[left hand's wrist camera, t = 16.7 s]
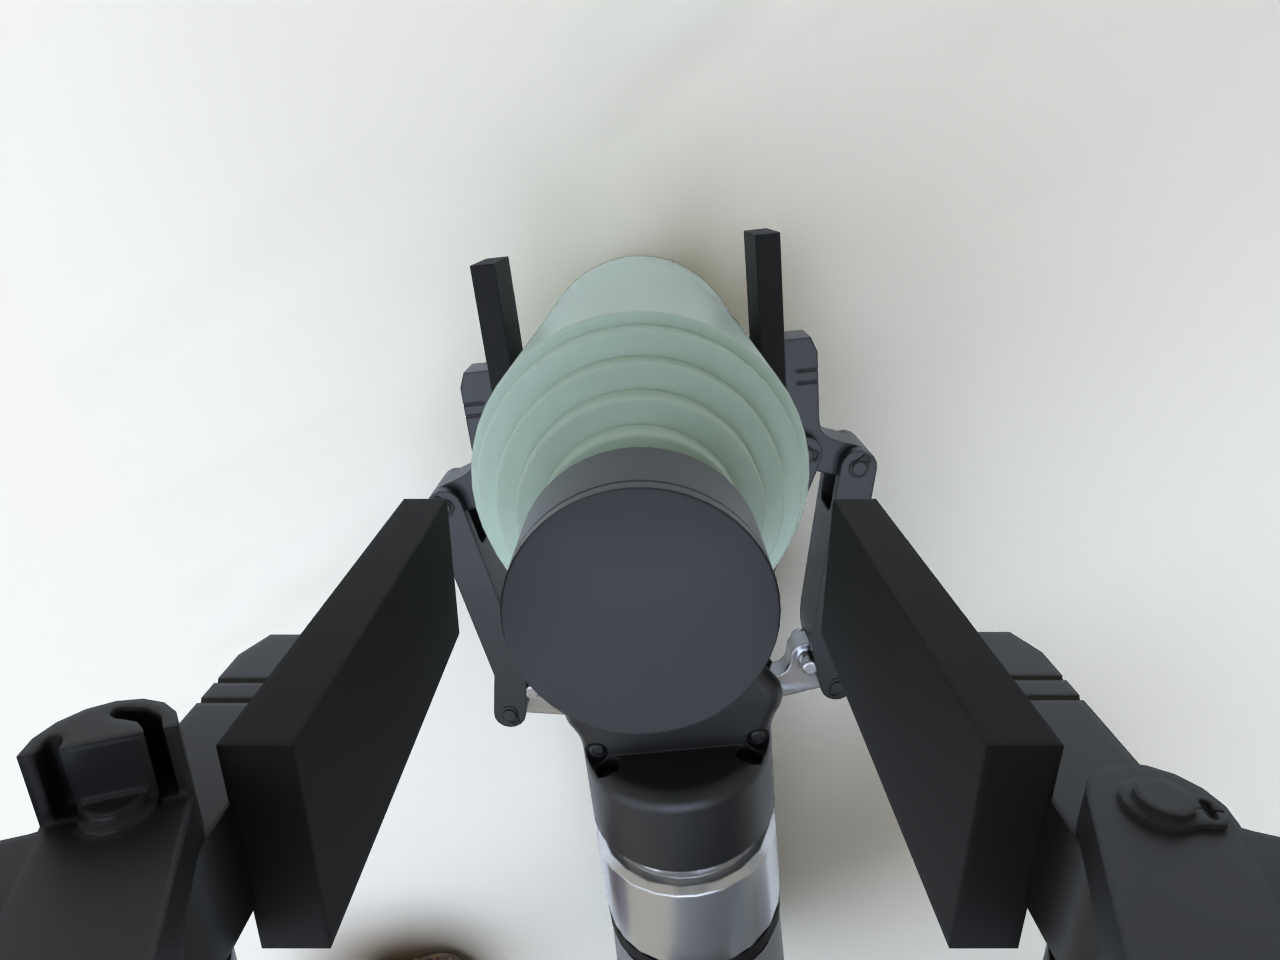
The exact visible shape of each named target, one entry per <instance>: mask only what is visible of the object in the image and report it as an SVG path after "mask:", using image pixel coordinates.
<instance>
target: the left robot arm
mask: <svg viewBox="0 0 1280 960" xmlns="http://www.w3.org/2000/svg"><path fill="white" fill-rule="evenodd" d="M458 635H459V625H458V614H457V603H456V592H455V581H454V570H453V559H452V548H451V537H450V527H449V516H448V505H447V499H404V500H403V501H402V502H401V504H400V505H399V506H398V508H397V509H396V510H395V512H394V513H393V514H392V516H391V517H390V518H389V520H388V521H387V522H386V523H385V525H384V526H383V527H382V529H381V530H380V531H379V533H378V534H377V535H376V537H375V538H374V539H373V540H372V542H371V543H370V544H369V546H368V547H367V548H366V550H365V551H364V552H363V554H362V555H361V556H360V557H359V559H358V560H357V561H356V563H355V564H354V565H353V567H352V568H351V569H350V571H349V572H348V573H347V574H346V576H345V577H344V578H343V580H342V581H341V582H340V584H339V585H338V586H337V588H336V589H335V590H334V591H333V593H332V594H331V595H330V597H329V598H328V599H327V601H326V602H325V603H324V605H323V606H322V607H321V608H320V610H319V611H318V612H317V614H316V615H315V616H314V618H313V619H312V620H311V622H310V623H309V624H308V625H307V627H306V628H305V629H304V631H303V632H302V633H301V635H269V636H268V637H266V638H265V639H263V640H261V641H260V642H258V643H257V644H255V645H254V646H252V647H250V648H249V649H247V650H246V651H244V652H242V653H241V654H239V655H238V656H237V657H236V659H235V660H234V661H233V662H232V663H231V664H230V665H229V667H228V668H227V669H226V670H225V671H224V672H223V674H222V675H221V676H220V677H219V678H218V683H214V684H213V685H212V686H211V687H210V689H209V690H208V691H207V692H206V693H205V694H204V696H203V697H202V698H201V703H197V704H196V705H195V706H194V707H193V708H192V709H191V711H190V712H189V713H188V714H187V715H186V716H185V718H184V719H183V720H182V721H181V722H180V723H179V721H178V717H177V713H176V711H175V710H173V709H172V708H171V707H169V706H168V705H167V704H166V703H164V702H159V701H153V700H147V699H135V700H123V701H115V702H111V703H107V704H104V705H100V706H96V707H92V708H89V709H85V710H83V711H81V712H79V713H76V714H74V715H72V716H70V717H67V718H65V719H63V720H61V721H58V722H56V723H55V724H53V725H52V726H50V727H49V728H48V729H46V730H45V731H43V732H42V733H40V734H39V735H37V736H36V737H34V738H33V739H32V740H31V741H30V742H29V743H28V744H27V745H26V746H25V748H24V749H23V750H22V751H21V752H20V753H19V755H18V756H17V760H18V763H19V766H20V769H21V772H22V775H23V778H24V781H25V784H26V787H27V790H28V793H29V796H30V799H31V802H32V804H33V807H34V810H35V813H36V816H37V819H38V822H39V825H40V828H39V830H38V832H35V833H32V834H28V835H24V836H19V837H15V838H10V839H6V840H1V841H0V960H237V958H236V954H235V950H234V945H235V944H236V942H237V940H238V938H239V936H240V934H241V932H242V931H243V929H244V927H245V925H246V923H247V921H248V919H249V918H250V916H251V914H252V912H253V911H254V915H255V920H256V924H257V928H258V933H259V937H260V941H261V946H262V948H331V946H332V944H333V941H334V939H335V936H336V934H337V932H338V929H339V927H340V924H341V922H342V919H343V917H344V914H345V912H346V910H347V907H348V905H349V902H350V900H351V897H352V895H353V892H354V890H355V887H356V885H357V883H358V880H359V878H360V875H361V873H362V870H363V868H364V865H365V863H366V861H367V858H368V856H369V853H370V851H371V848H372V846H373V843H374V841H375V838H376V836H377V834H378V831H379V829H380V826H381V824H382V821H383V819H384V816H385V814H386V812H387V809H388V807H389V804H390V802H391V799H392V797H393V794H394V792H395V789H396V787H397V785H398V782H399V780H400V777H401V775H402V772H403V770H404V767H405V765H406V763H407V760H408V758H409V755H410V753H411V750H412V748H413V745H414V743H415V740H416V738H417V736H418V733H419V731H420V728H421V726H422V723H423V721H424V718H425V716H426V714H427V711H428V709H429V706H430V704H431V701H432V699H433V696H434V694H435V691H436V689H437V687H438V684H439V682H440V679H441V677H442V674H443V672H444V669H445V667H446V665H447V662H448V660H449V657H450V655H451V652H452V650H453V647H454V645H455V642H456V640H457V638H458ZM821 635H822V638H823V640H824V642H825V645H826V647H827V650H828V652H829V655H830V657H831V660H832V662H833V665H834V667H835V669H836V672H837V674H838V677H839V679H840V682H841V684H842V687H843V689H844V691H845V694H846V696H847V699H848V701H849V704H850V706H851V709H852V711H853V714H854V716H855V718H856V721H857V723H858V726H859V728H860V731H861V733H862V736H863V738H864V740H865V743H866V745H867V748H868V750H869V753H870V755H871V758H872V760H873V763H874V765H875V767H876V770H877V772H878V775H879V777H880V780H881V782H882V785H883V787H884V789H885V792H886V794H887V797H888V799H889V802H890V804H891V807H892V809H893V812H894V814H895V816H896V819H897V821H898V824H899V826H900V829H901V831H902V834H903V836H904V838H905V841H906V843H907V846H908V848H909V851H910V853H911V856H912V858H913V861H914V863H915V865H916V868H917V870H918V873H919V875H920V878H921V880H922V883H923V885H924V887H925V890H926V892H927V895H928V897H929V900H930V902H931V905H932V907H933V910H934V912H935V914H936V917H937V919H938V922H939V924H940V927H941V929H942V932H943V934H944V936H945V939H946V941H947V944H948V946H949V948H1018V946H1019V941H1020V937H1021V933H1022V928H1023V924H1024V920H1025V915H1026V911H1027V908H1028V910H1029V912H1030V913H1031V915H1032V917H1033V919H1034V921H1035V923H1036V925H1037V926H1038V928H1039V930H1040V932H1041V934H1042V936H1043V938H1044V939H1045V941H1046V943H1047V945H1046V950H1045V954H1044V958H1043V960H1280V837H1277V836H1272V835H1268V834H1263V833H1259V832H1254V831H1250V830H1247V829H1243V828H1241V826H1240V825H1239V823H1238V822H1237V821H1236V819H1235V818H1234V817H1233V815H1232V814H1231V813H1230V811H1229V810H1228V809H1227V807H1226V806H1225V805H1223V804H1222V803H1221V802H1220V801H1218V800H1217V799H1216V798H1214V797H1213V796H1212V795H1211V794H1209V793H1208V792H1207V791H1205V790H1204V789H1203V788H1201V787H1199V786H1197V785H1195V784H1193V783H1191V782H1189V781H1187V780H1185V779H1183V778H1181V777H1179V776H1177V775H1175V774H1173V773H1169V772H1166V771H1163V770H1159V769H1156V768H1153V767H1150V766H1146V765H1140V764H1139V763H1138V762H1137V761H1136V760H1135V759H1134V758H1133V756H1132V755H1131V754H1130V753H1129V752H1128V751H1127V749H1126V748H1125V747H1124V746H1123V745H1122V744H1121V743H1120V741H1119V740H1118V739H1117V738H1116V737H1115V736H1114V735H1113V733H1112V732H1111V731H1110V730H1109V729H1108V728H1107V727H1106V725H1105V724H1104V723H1103V722H1102V721H1101V720H1100V718H1099V717H1098V716H1097V715H1096V714H1095V713H1094V712H1093V710H1092V709H1091V708H1090V707H1089V706H1088V705H1087V704H1086V702H1085V701H1084V700H1080V698H1079V694H1078V693H1077V692H1076V691H1075V690H1074V689H1073V687H1072V686H1071V685H1070V684H1069V683H1068V682H1067V681H1066V680H1063V679H1062V675H1061V674H1060V673H1059V671H1058V670H1057V669H1056V668H1055V667H1054V666H1053V664H1052V663H1051V662H1050V661H1049V660H1048V659H1047V658H1046V656H1045V655H1044V654H1043V653H1042V652H1041V651H1039V650H1037V649H1036V648H1034V647H1033V646H1031V645H1030V644H1028V643H1026V642H1025V641H1023V640H1022V639H1020V638H1018V637H1017V636H1015V635H1014V634H1012V633H1010V632H977V631H976V629H975V628H974V627H973V625H972V624H971V623H970V622H969V620H968V619H967V618H966V616H965V615H964V614H963V612H962V611H961V610H960V608H959V607H958V606H957V605H956V603H955V602H954V601H953V599H952V598H951V597H950V595H949V594H948V593H947V591H946V590H945V589H944V588H943V586H942V585H941V584H940V582H939V581H938V580H937V578H936V577H935V576H934V574H933V573H932V572H931V571H930V569H929V568H928V567H927V565H926V564H925V563H924V561H923V560H922V559H921V557H920V556H919V555H918V554H917V552H916V551H915V550H914V548H913V547H912V546H911V544H910V543H909V542H908V540H907V539H906V538H905V537H904V535H903V534H902V533H901V531H900V530H899V529H898V527H897V526H896V525H895V523H894V522H893V521H892V520H891V518H890V517H889V516H888V514H887V513H886V512H885V510H884V509H883V508H882V506H881V505H880V504H879V502H878V501H877V500H876V499H833V505H832V516H831V527H830V537H829V548H828V559H827V570H826V581H825V592H824V603H823V614H822V625H821Z"/></svg>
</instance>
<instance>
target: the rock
mask: <svg viewBox="0 0 1280 960" xmlns="http://www.w3.org/2000/svg"><path fill="white" fill-rule="evenodd" d="M413 960H461V959H460V958H459V957H458V956H455V955H452V954H449V953H436V954H430V955H426V956H424V957H421V958H415V959H413Z"/></svg>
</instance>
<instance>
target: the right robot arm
mask: <svg viewBox="0 0 1280 960" xmlns="http://www.w3.org/2000/svg"><path fill="white" fill-rule="evenodd" d="M744 242H745V260H746V278H747V296H748V314H749V332H750V340H751V341H752V343H753V344H754V345H755V347H756V348H757V349H758V351H759V352H760V354H761V355H762V356H763V358H764V359H765V360H766V362H767V363H768V364H769V366H770V367H771V368H772V370H773V371H774V372H775V374H776V375H777V377H778V378H779V380H780V381H781V383H782V384H783V385H784V387H785V388H786V390H787V391H788V393H789V395H790V397H791V399H792V401H793V403H794V405H795V407H796V409H797V411H798V413H799V416H800V419H801V423H802V426H803V429H804V432H805V436H806V442H807V448H808V453H809V482H808V490H809V488H810V485H811V483H812V481H813V478H814V476H815V474H816V471H819V472H821V476H820V482H819V488H818V495H817V501H816V507H815V514H814V520H813V526H812V533H811V539H810V545H809V552H808V558H807V564H806V570H805V577H804V583H803V589H802V596H801V604H800V620H801V626H802V629H795V630H794V631H793V632H792V633H791V636H790V638H789V639H788V641H787V647H786V652H785V655H784V656H783V657H782V658H781V659H780V660H778V661H776V662H772V661H771V660H770V659H769V660H768V662H767V664H766V665H765V667H764V669H763V671H762V672H761V674H760V675H759V676H758V678H757V679H756V680H755V682H754V683H753V684H752V686H751V687H750V688H749V689H748V690H747V691H746V692H745V693H744V694H743V695H742V696H741V697H740V698H738V699H737V700H736V701H735V702H733V703H732V704H731V705H730V706H728V707H727V708H725V709H724V710H722V711H720V712H719V713H717V714H715V715H714V716H712V717H710V718H708V719H705V720H703V721H701V722H699V723H696V724H693V725H690V726H687V727H684V728H681V729H676V730H672V731H667V732H659V733H649V734H631V733H622V732H613V731H609V730H605V729H600V728H596V727H593V726H591V725H588V724H585V723H582V722H580V721H577V720H575V719H573V718H571V717H569V716H567V715H565V716H566V718H567V720H568V722H569V723H570V725H571V726H572V727H573V728H574V729H575V730H576V731H577V733H578V734H579V736H580V738H581V740H582V742H583V747H584V753H585V759H586V765H587V771H588V778H589V784H590V790H591V797H592V803H593V809H594V815H595V821H596V824H597V827H598V835H597V836H598V842H599V848H600V854H601V860H602V866H603V871H604V877H605V883H606V889H607V895H608V900H609V908H610V913H611V918H612V923H613V926H614V935H615V943H616V952H617V960H784V956H783V945H782V935H781V924H780V914H779V888H780V880H779V865H778V849H777V834H776V820H775V812H774V800H775V797H774V779H773V761H772V744H771V722H772V718H773V716H774V714H775V712H776V710H777V709H778V707H779V705H780V703H781V700H782V696H785V695H790V694H794V693H798V692H802V691H806V690H811V689H815V688H819V687H820V688H821V690H822V692H823V694H824V695H825V696H827V697H828V698H831V699H841V698H843V697H845V696H846V694H845V691H844V689H843V687H842V684H841V682H840V679H839V677H838V674H837V672H836V669H835V667H834V665H833V662H832V660H831V657H830V655H829V652H828V650H827V647H826V645H825V642H824V640H823V638H822V635H821V625H822V614H823V603H824V592H825V581H826V570H827V559H828V548H829V537H830V527H831V516H832V505H833V499H871V497H872V492H873V486H874V481H875V475H876V470H877V462H876V460H875V458H874V456H873V455H872V454H871V453H870V452H869V450H868V449H867V448H866V447H865V446H864V445H863V444H862V443H861V441H860V440H859V439H858V438H857V437H856V436H855V435H854V434H853V433H852V432H850V431H846V430H840V431H835V430H831V429H827V428H824V427H821V426H820V423H819V398H818V370H817V368H818V358H817V350H816V348H815V346H814V343H813V341H812V339H811V337H810V336H809V335H808V334H806V333H805V332H804V331H803V330H797V331H787V332H784V321H783V296H782V271H781V245H780V232H777V231H774V230H770V229H767V228H765V229H756V230H747V231H744ZM470 269H471V275H472V281H473V286H474V292H475V298H476V304H477V309H478V315H479V321H480V327H481V332H482V338H483V344H484V350H485V355H486V361H487V363H477V364H472V365H471V366H470V367H469V368H468V369H467V370H466V371H465V372H464V374H463V379H462V383H461V394H462V399H463V404H464V410H465V415H466V420H467V426H468V431H469V436H470V442H471V447H472V452H473V444H474V440H475V435H476V431H477V427H478V424H479V421H480V418H481V416H482V413H483V411H484V408H485V405H486V404H487V402H488V400H489V398H490V396H491V395H492V393H493V391H494V389H495V387H496V386H497V384H498V383H499V382H500V380H501V379H502V378H503V376H504V375H505V374H506V372H507V371H508V369H509V368H510V367H511V365H512V364H513V363H514V361H515V360H516V359H517V357H518V356H519V354H520V353H521V352H522V350H523V348H522V341H521V335H520V328H519V322H518V316H517V309H516V303H515V297H514V290H513V284H512V277H511V271H510V265H509V258H508V257H498V258H489V259H485V260H482V261H480V262H478V263H476V264H473V265H471V266H470ZM471 463H472V462H471ZM471 463H470V464H468V465H466V466H463V467H461V468H453V469H451V470H449V471H448V472H447V473H446V474H445V476H444V477H443V479H442V480H441V481H440V483H439V484H438V486H437V487H436V489H435V490H434V492H433V493H432V495H431V496H430V498H429V499H447V505H448V516H449V527H450V537H451V548H452V559H453V570H454V577H455V580H456V582H457V585H458V587H459V590H460V592H461V594H462V597H463V599H464V602H465V604H466V607H467V609H468V612H469V614H470V617H471V619H472V621H473V624H474V626H475V629H476V631H477V634H478V636H479V639H480V641H481V643H482V646H483V648H484V651H485V653H486V656H487V658H488V661H489V663H490V665H491V668H492V670H493V673H494V675H495V683H494V714H495V718H496V719H497V721H498V722H499V723H501V724H502V725H504V726H508V727H513V726H517V725H519V724H521V723H522V722H523V721H524V720H525V716H526V712H532V713H549V714H564V713H562V712H560V711H559V710H557V709H556V708H554V707H553V706H551V705H550V704H549V703H547V702H546V701H545V700H544V699H543V698H541V697H540V696H539V695H538V694H537V693H536V692H535V691H534V690H533V689H532V688H531V687H530V686H529V685H528V683H527V682H526V681H525V679H524V678H523V677H522V675H521V674H520V673H519V671H518V670H517V668H516V666H515V664H514V662H513V660H512V658H511V657H510V654H509V652H508V649H507V646H506V643H505V641H504V636H503V632H502V627H501V616H500V603H501V592H502V588H503V584H504V580H505V576H506V573H507V569H506V568H505V566H504V565H503V563H502V562H501V560H500V559H499V557H498V556H497V554H496V552H495V550H494V548H493V547H492V545H491V543H490V541H489V539H488V537H487V535H486V533H485V531H484V529H483V526H482V524H481V521H480V518H479V515H478V512H477V509H476V504H475V499H474V494H473V489H472V473H471ZM807 493H808V492H807ZM775 569H776V567H775V568H774V570H773V571H775Z"/></svg>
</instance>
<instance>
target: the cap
mask: <svg viewBox="0 0 1280 960" xmlns="http://www.w3.org/2000/svg"><path fill="white" fill-rule="evenodd" d="M780 614H781V606H780V594H779V589H778V585H777V580H776V577H775V574H774V571H773V568H772V565H771V562H770V559H769V557H768V554H767V551H766V548H765V545H764V542H763V540H762V537H761V534H760V531H759V528H758V526H757V523H756V520H755V518H754V515H753V513H752V511H751V509H750V508H749V506H748V504H747V502H746V501H745V499H744V498H743V497H742V495H741V494H740V493H739V491H738V490H737V489H736V488H735V487H734V486H733V485H732V484H731V483H730V482H729V481H728V480H727V479H726V478H725V477H724V476H722V475H721V474H720V473H718V472H717V471H716V470H715V469H713V468H712V467H710V466H708V465H706V464H705V463H703V462H701V461H699V460H697V459H695V458H692V457H690V456H687V455H685V454H682V453H679V452H675V451H671V450H667V449H660V448H653V447H629V448H620V449H614V450H610V451H606V452H602V453H599V454H596V455H593V456H591V457H588V458H586V459H584V460H582V461H580V462H578V463H576V464H574V465H572V466H571V467H569V468H568V469H566V470H565V471H564V472H562V473H561V474H560V475H558V476H557V477H556V478H555V479H554V480H553V481H552V482H551V483H550V484H548V485H547V486H546V487H545V489H544V490H543V491H542V492H541V494H540V495H539V496H538V498H537V499H536V500H535V502H534V504H533V505H532V507H531V509H530V511H529V512H528V515H527V517H526V520H525V522H524V525H523V527H522V530H521V533H520V536H519V539H518V541H517V544H516V547H515V550H514V553H513V556H512V559H511V562H510V564H509V567H508V570H507V573H506V576H505V580H504V584H503V588H502V592H501V603H500V616H501V627H502V632H503V636H504V641H505V643H506V646H507V649H508V652H509V654H510V657H511V658H512V660H513V662H514V664H515V666H516V668H517V670H518V671H519V673H520V674H521V675H522V677H523V678H524V679H525V681H526V682H527V683H528V685H529V686H530V687H531V688H532V689H533V690H534V691H535V692H536V693H537V694H538V695H539V696H540V697H541V698H543V699H544V700H545V701H546V702H547V703H549V704H550V705H551V706H553V707H554V708H556V709H557V710H559V711H560V712H562V713H564V714H565V715H567V716H569V717H571V718H573V719H575V720H577V721H580V722H582V723H585V724H588V725H591V726H593V727H596V728H600V729H605V730H609V731H613V732H622V733H631V734H649V733H659V732H667V731H672V730H676V729H681V728H684V727H687V726H690V725H693V724H696V723H699V722H701V721H703V720H705V719H708V718H710V717H712V716H714V715H715V714H717V713H719V712H720V711H722V710H724V709H725V708H727V707H728V706H730V705H731V704H732V703H733V702H735V701H736V700H737V699H738V698H740V697H741V696H742V695H743V694H744V693H745V692H746V691H747V690H748V689H749V688H750V687H751V686H752V684H753V683H754V682H755V680H756V679H757V678H758V676H759V675H760V674H761V672H762V671H763V669H764V667H765V665H766V664H767V662H768V660H769V658H770V656H771V654H772V651H773V648H774V646H775V643H776V640H777V635H778V631H779V627H780Z"/></svg>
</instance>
